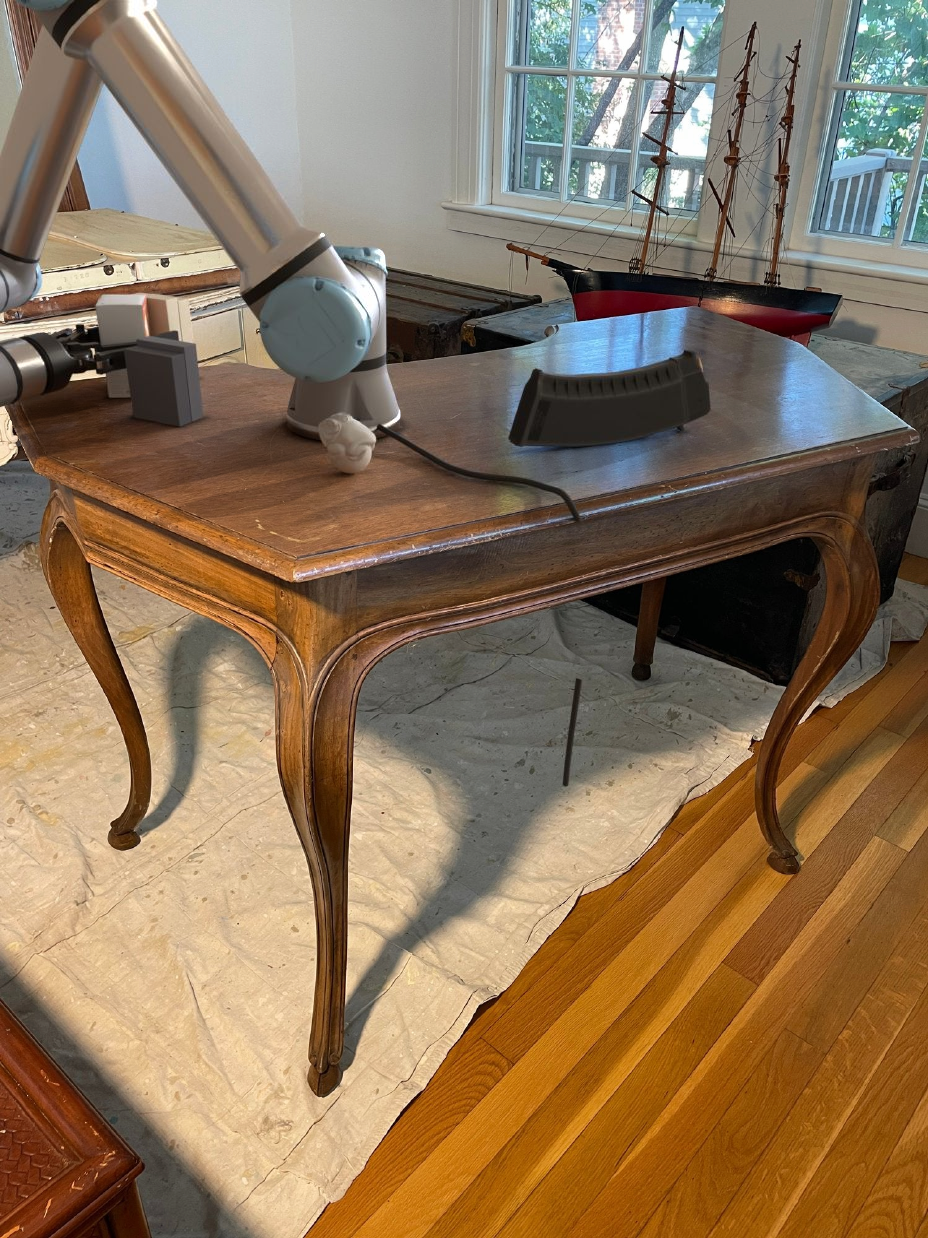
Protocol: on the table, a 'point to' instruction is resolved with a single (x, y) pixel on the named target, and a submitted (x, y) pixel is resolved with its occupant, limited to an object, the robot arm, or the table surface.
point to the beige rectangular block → (169, 315)
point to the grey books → (164, 381)
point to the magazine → (610, 404)
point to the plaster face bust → (347, 442)
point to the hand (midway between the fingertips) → (149, 335)
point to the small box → (121, 331)
